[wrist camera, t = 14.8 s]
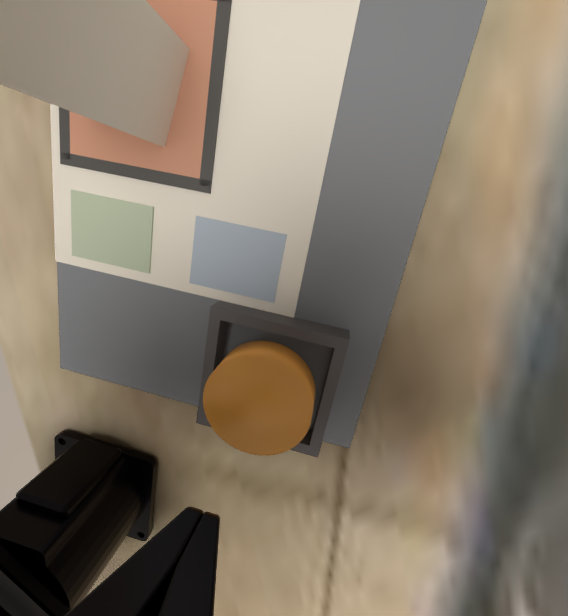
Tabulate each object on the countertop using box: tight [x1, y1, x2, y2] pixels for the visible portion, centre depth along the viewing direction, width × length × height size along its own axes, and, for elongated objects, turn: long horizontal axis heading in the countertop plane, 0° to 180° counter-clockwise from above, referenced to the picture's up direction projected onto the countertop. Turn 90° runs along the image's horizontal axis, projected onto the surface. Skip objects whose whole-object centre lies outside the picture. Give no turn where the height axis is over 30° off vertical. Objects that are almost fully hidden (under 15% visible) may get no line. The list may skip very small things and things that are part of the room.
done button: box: [203, 340, 315, 455], centre depth 13 cm, size 4×4×2 cm
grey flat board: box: [50, 0, 487, 457], centre depth 14 cm, size 18×16×2 cm
